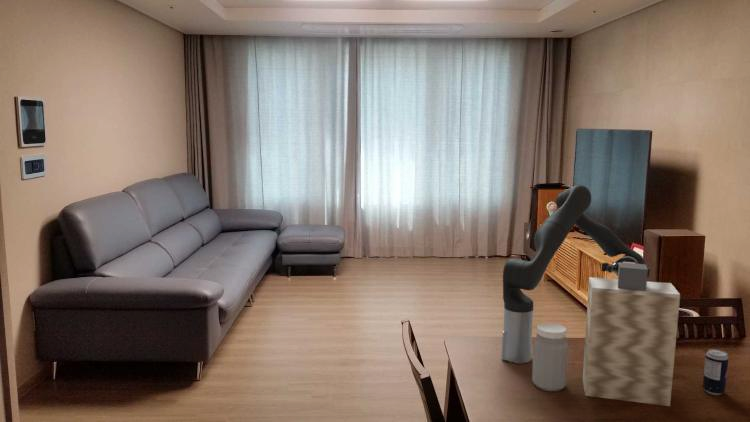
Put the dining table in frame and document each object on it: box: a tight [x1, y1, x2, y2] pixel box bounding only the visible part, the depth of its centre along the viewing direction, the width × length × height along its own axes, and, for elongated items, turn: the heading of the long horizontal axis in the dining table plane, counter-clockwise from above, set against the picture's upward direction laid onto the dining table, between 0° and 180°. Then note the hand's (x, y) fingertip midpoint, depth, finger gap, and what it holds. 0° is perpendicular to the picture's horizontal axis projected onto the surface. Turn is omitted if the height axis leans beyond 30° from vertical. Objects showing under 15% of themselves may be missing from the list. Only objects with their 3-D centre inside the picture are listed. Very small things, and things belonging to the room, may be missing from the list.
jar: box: [531, 322, 569, 392], centre depth 168 cm, size 10×10×18 cm
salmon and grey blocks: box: [617, 262, 648, 291], centre depth 165 cm, size 20×7×6 cm, turn 159°
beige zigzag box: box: [582, 276, 681, 407], centre depth 163 cm, size 22×11×32 cm, turn 74°
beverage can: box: [701, 348, 730, 396], centre depth 165 cm, size 6×6×12 cm
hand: (624, 271), depth 180 cm, fingers open, 8 cm apart
